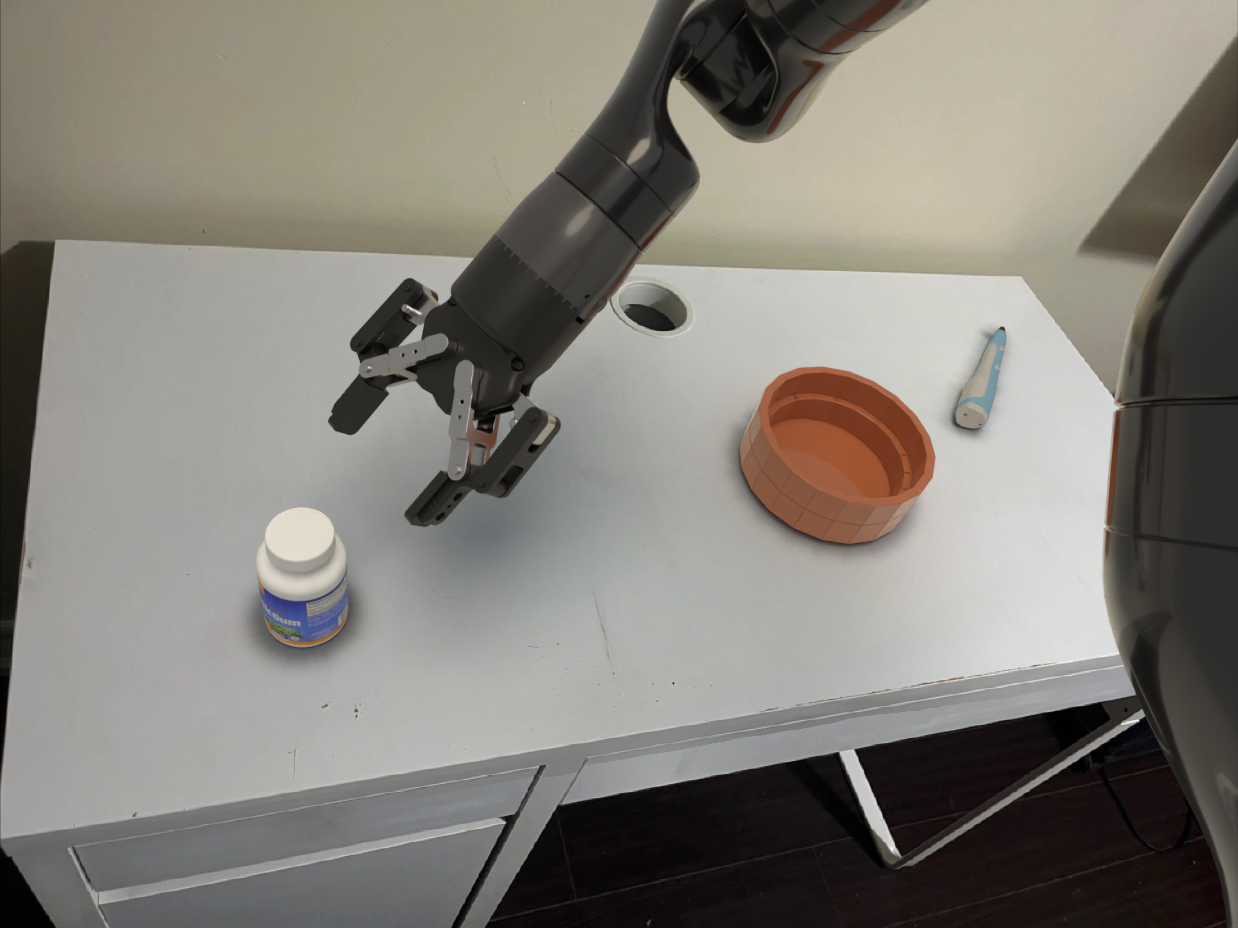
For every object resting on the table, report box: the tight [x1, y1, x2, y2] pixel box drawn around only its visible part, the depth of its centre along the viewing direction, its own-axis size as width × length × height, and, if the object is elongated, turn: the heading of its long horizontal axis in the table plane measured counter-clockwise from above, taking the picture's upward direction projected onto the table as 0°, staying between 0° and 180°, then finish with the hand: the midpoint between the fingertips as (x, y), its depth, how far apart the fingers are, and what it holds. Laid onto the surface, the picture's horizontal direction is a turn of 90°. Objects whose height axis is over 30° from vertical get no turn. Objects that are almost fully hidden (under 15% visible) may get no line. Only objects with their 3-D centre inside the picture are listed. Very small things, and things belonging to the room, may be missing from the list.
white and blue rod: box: [955, 326, 1007, 430], centre depth 91 cm, size 19×3×3 cm, turn 152°
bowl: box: [739, 365, 936, 545], centre depth 75 cm, size 16×16×6 cm
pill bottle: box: [255, 506, 349, 648], centre depth 55 cm, size 5×5×10 cm
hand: (376, 474), depth 53 cm, fingers open, 8 cm apart
